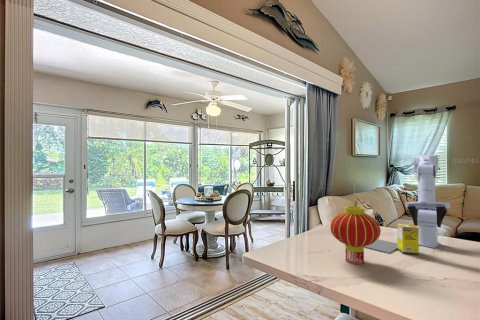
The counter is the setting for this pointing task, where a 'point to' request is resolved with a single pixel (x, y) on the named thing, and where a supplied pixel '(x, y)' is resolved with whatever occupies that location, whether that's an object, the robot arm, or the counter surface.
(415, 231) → the supplement box
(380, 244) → the rubber mat
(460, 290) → the counter surface
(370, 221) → the lantern
